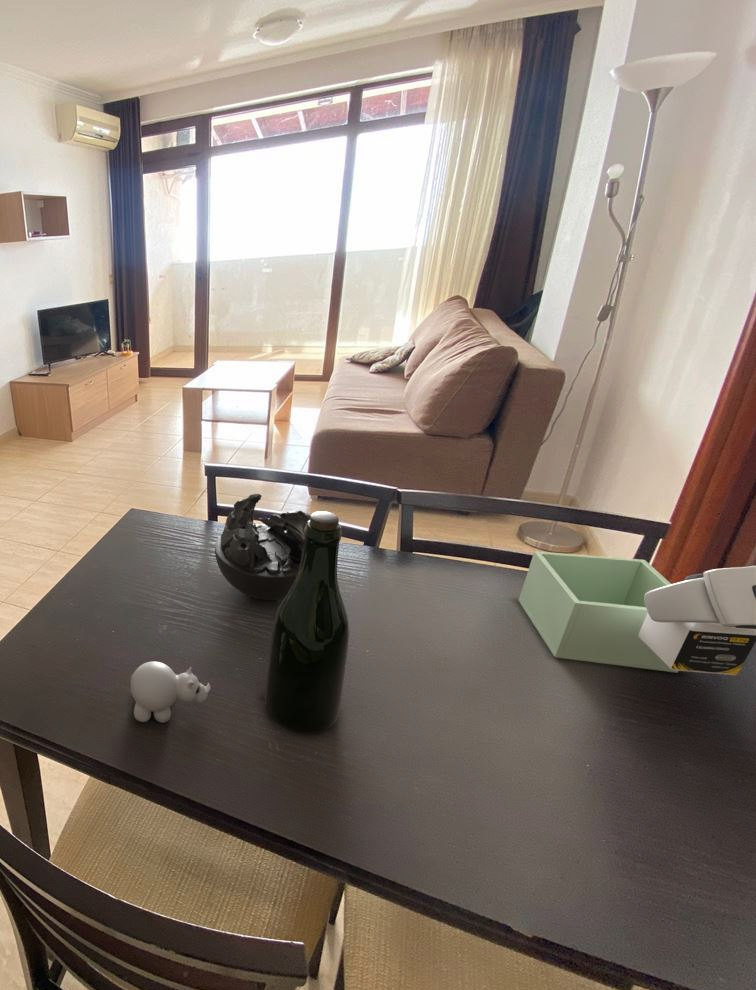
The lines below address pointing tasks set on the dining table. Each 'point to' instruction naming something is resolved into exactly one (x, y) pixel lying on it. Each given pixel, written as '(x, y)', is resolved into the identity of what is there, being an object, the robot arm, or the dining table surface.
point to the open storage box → (592, 607)
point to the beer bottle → (310, 636)
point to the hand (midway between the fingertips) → (699, 613)
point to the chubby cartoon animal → (163, 690)
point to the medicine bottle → (698, 644)
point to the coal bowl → (261, 550)
